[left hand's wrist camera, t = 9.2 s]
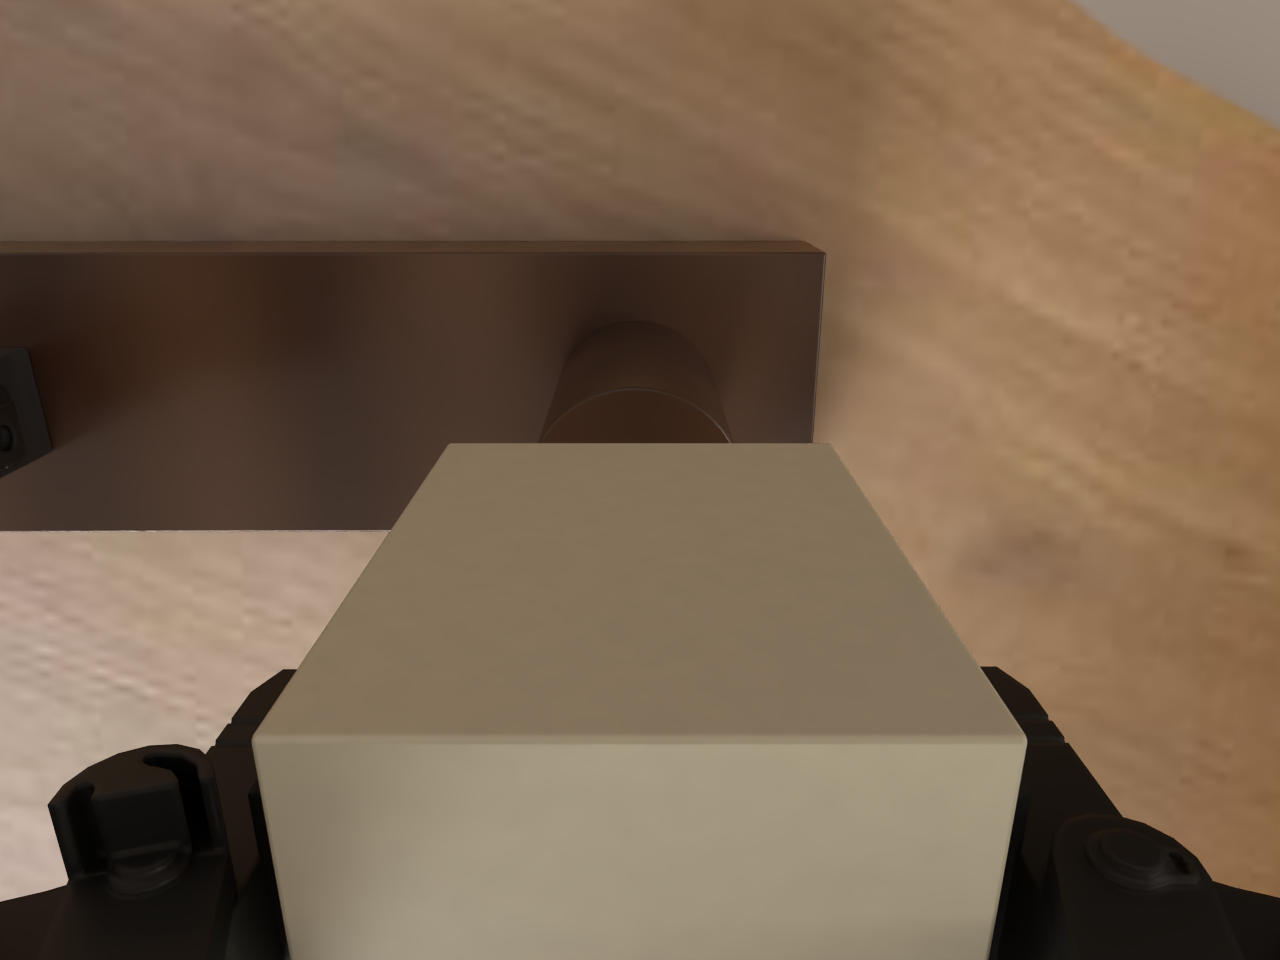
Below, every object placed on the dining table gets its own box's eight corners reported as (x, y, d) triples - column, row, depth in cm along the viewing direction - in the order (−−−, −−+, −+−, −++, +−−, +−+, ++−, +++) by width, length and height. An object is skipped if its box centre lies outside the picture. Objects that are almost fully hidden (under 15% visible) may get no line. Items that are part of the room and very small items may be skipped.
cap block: (831, 442, 13) (1032, 739, 6) (807, 760, 15) (939, 1244, 8) (448, 442, 13) (245, 738, 6) (472, 760, 15) (339, 1243, 8)
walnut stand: (806, 241, 26) (902, 293, 17) (790, 494, 29) (863, 661, 19) (-81, 241, 26) (-487, 294, 17) (-10, 495, 29) (-323, 664, 19)
